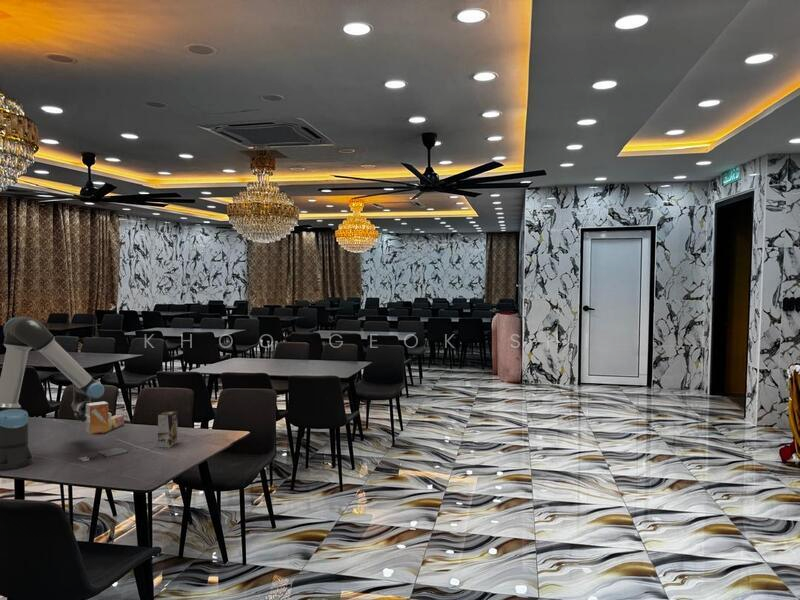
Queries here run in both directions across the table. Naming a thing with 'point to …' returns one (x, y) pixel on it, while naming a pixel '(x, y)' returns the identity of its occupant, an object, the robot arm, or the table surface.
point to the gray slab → (112, 452)
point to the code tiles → (84, 458)
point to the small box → (97, 417)
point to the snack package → (114, 423)
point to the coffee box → (167, 429)
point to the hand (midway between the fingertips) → (100, 418)
